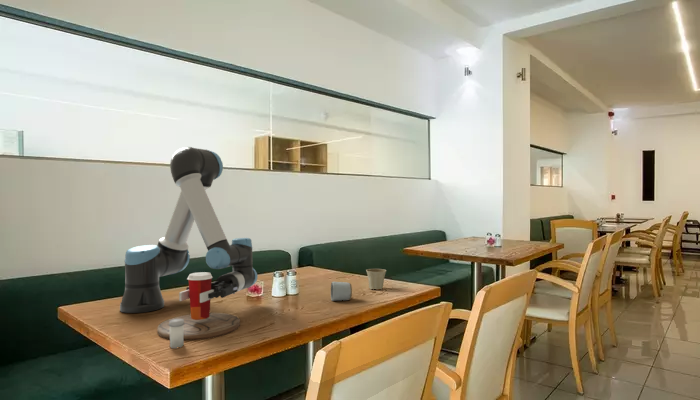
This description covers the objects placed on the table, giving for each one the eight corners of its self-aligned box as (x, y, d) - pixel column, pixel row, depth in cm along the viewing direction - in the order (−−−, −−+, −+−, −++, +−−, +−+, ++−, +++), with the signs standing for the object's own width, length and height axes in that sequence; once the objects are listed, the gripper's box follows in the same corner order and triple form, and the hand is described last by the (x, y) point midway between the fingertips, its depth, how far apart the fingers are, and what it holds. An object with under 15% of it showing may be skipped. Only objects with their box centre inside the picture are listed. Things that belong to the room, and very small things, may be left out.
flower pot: (376, 286, 204) (376, 267, 204) (390, 289, 197) (390, 270, 197) (361, 288, 198) (361, 270, 198) (375, 292, 191) (375, 272, 191)
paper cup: (212, 313, 143) (211, 271, 143) (213, 319, 136) (213, 275, 136) (187, 315, 140) (186, 272, 140) (187, 321, 133) (186, 276, 133)
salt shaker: (166, 347, 119) (166, 321, 119) (175, 343, 123) (175, 318, 123) (178, 349, 118) (178, 322, 118) (186, 344, 122) (186, 319, 122)
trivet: (208, 314, 155) (208, 309, 155) (256, 326, 141) (256, 320, 141) (141, 331, 135) (141, 325, 135) (189, 347, 120) (189, 340, 120)
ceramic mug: (352, 301, 172) (352, 282, 172) (332, 302, 171) (332, 283, 171) (348, 296, 183) (348, 278, 183) (329, 297, 181) (329, 279, 181)
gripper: (254, 295, 153) (218, 311, 130) (206, 292, 158) (163, 307, 135) (254, 274, 153) (218, 287, 130) (206, 272, 158) (163, 283, 135)
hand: (190, 297), depth 133 cm, fingers closed on paper cup, 7 cm apart
